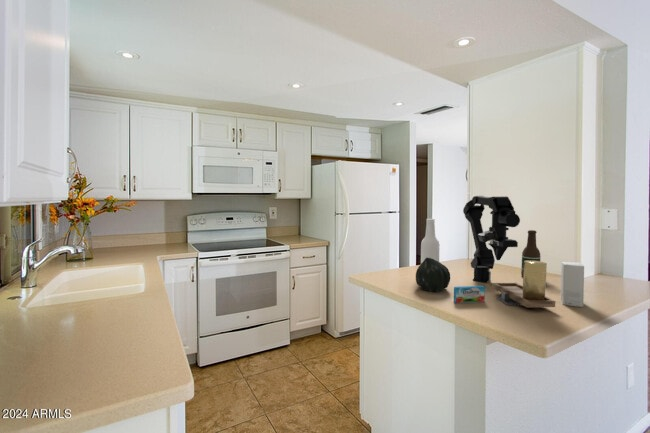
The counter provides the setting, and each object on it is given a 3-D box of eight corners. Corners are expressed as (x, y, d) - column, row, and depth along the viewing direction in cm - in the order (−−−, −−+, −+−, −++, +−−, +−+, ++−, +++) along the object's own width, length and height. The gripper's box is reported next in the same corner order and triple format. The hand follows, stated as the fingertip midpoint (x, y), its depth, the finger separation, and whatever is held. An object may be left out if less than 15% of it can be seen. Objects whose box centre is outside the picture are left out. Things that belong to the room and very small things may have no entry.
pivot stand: (496, 298, 131) (496, 289, 131) (533, 298, 131) (533, 289, 131) (507, 305, 123) (508, 296, 123) (546, 304, 123) (547, 295, 123)
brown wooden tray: (492, 287, 138) (492, 282, 138) (516, 287, 139) (516, 282, 138) (526, 307, 116) (527, 301, 115) (555, 307, 116) (555, 301, 116)
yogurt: (482, 300, 129) (482, 285, 128) (484, 302, 127) (485, 286, 127) (453, 302, 128) (453, 286, 127) (455, 303, 126) (455, 287, 126)
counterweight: (520, 300, 120) (522, 262, 118) (524, 295, 125) (525, 259, 124) (543, 304, 115) (545, 265, 114) (546, 299, 120) (547, 262, 119)
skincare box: (583, 307, 120) (585, 266, 119) (561, 304, 123) (563, 264, 122) (580, 301, 127) (582, 262, 126) (559, 298, 130) (561, 260, 129)
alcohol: (441, 277, 164) (442, 218, 162) (434, 281, 157) (435, 219, 155) (425, 275, 169) (425, 217, 167) (417, 278, 163) (418, 219, 161)
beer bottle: (539, 277, 163) (541, 230, 161) (539, 281, 156) (541, 231, 155) (521, 275, 167) (523, 229, 165) (520, 279, 160) (522, 230, 159)
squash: (461, 277, 143) (439, 250, 149) (447, 286, 132) (424, 256, 138) (438, 293, 151) (418, 266, 157) (423, 302, 140) (402, 273, 146)
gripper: (471, 223, 151) (470, 256, 152) (492, 227, 133) (491, 264, 134) (494, 223, 151) (493, 256, 153) (519, 227, 133) (517, 264, 134)
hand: (498, 260), depth 143 cm, fingers closed
